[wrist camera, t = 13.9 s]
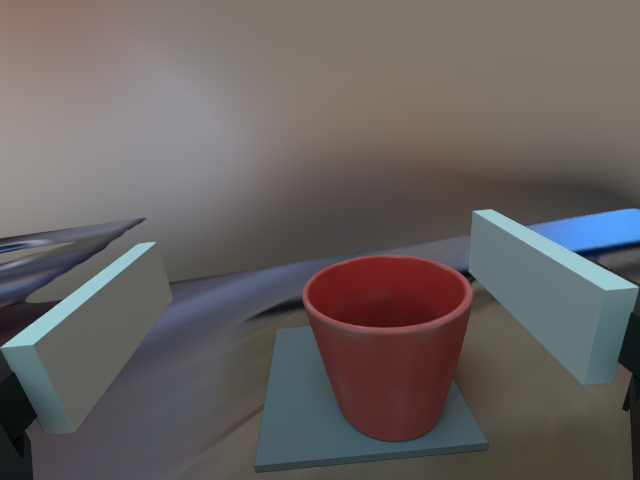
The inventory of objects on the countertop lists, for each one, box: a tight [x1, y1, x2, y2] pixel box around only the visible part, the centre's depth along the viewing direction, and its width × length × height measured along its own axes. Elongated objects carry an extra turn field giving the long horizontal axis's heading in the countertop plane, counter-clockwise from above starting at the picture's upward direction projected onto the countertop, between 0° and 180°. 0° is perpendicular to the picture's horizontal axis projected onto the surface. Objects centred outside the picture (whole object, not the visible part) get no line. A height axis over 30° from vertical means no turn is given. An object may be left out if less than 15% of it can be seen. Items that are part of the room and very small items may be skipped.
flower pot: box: [303, 255, 473, 441], centre depth 24 cm, size 11×11×10 cm
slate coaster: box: [254, 326, 488, 472], centre depth 29 cm, size 15×15×1 cm
